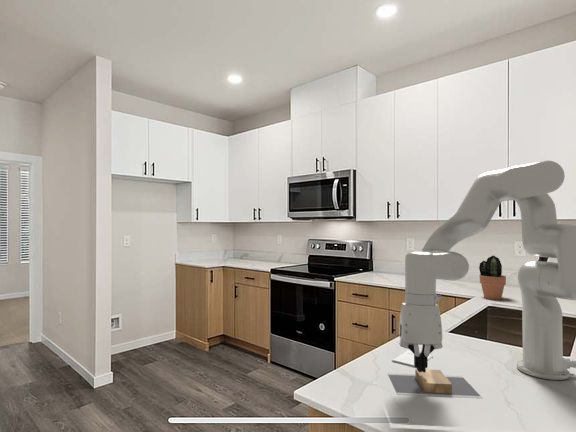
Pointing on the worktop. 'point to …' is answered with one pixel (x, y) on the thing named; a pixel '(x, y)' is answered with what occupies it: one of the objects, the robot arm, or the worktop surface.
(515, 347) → the worktop surface
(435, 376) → the wooden block
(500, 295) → the potted plant
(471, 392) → the mat
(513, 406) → the worktop surface
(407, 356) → the external hard drive
